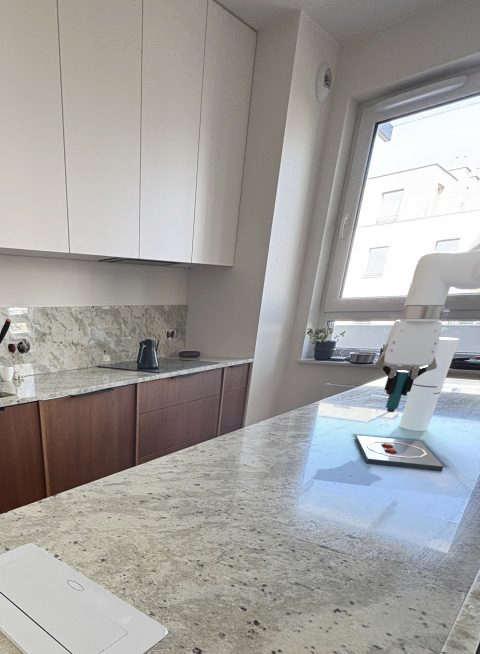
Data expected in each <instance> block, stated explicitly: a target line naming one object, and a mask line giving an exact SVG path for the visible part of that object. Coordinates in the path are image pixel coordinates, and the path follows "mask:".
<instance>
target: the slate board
mask: <svg viewBox="0 0 480 654" xmlns="http://www.w3.org/2000/svg"><path fill="white" fill-rule="evenodd" d="M355 442H356V444H357V446H358V448H359V451H360V453H361V455H362V457H363V459H364V462H365V464H370V465H379V466H389V467H397V468H407V469H415V470H416V469H417V470H425V469H426V470H425V471H435V472H443V468H444V465H443V464H442V463H441V462H440V461H439V459H437V458H436V456H435V455H434V454H433V453H432V452H431V451H430V450H429V448H428V447H426V445H425V444H424V443H423V442H422V441H421V440H414V439H413V440H412V439H402V438H401V439H400V438H391V437H377V436H365V435H356V437H355ZM384 443H388V444H391V445H392V446H391V448H390V449H395V453H386V450H387V449H388V448H387V447H383V444H384Z"/></svg>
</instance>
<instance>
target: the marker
mask: <svg viewBox="0 0 480 654" xmlns="http://www.w3.org/2000/svg"><path fill="white" fill-rule="evenodd" d="M409 372H410V370H397V371H396V374H395V379H396V381H395V384H394V388H393V391H392V394H390V395H388V398H387V401H386V405H385V408H386V412H387V413H394V412H395V410H397V409H398V408H399V405H400V402H401V399H402V397H403V395H402V393H403V390H404V387H405V384H406V381H407V378H408V375H409Z"/></svg>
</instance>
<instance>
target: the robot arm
mask: <svg viewBox="0 0 480 654" xmlns="http://www.w3.org/2000/svg"><path fill="white" fill-rule="evenodd" d="M450 288H455V289H458V290H476V289H477V290H478V289H480V243H478V244H476V245H475V246H473V247H472V248H470V249H469V250H467V251H460V252H456V251H433V252H432V251H431V252H426V253H424V254H422V255H421V256H419V258H418V259H417V262H416V264H415V268H414V271H413V274H412V278H411V282H410V285H409V288H408V292H407V294H406V299H405V301H404V304H403V305H404V306H403V309H402V312H401V315H400V319H396V320H395V321H394V323H393V325H392V327H391V330H390V332H389V334H388V337H387V339H386V342H385V345H384V349H383V350H382V354H381V355H380V357H378V359H377V360H376V361H375V362H374V366H375V367H376V368H378V369H380V370H382V371H383V372H384V373H385V375H386V376H387V379H386V383H385V385H384V391H385V393H386V394H387V395H388V396H389V395H390V394H392V391H393V388H394V384H395V381H396V379H395V375H396V372H397V371H398V368H399V366H409V367H410V369H409V374H408V378H407V381H406V384H405V387H404V390H403V393H402V397H403V396H404V397H406V396H407V395H408V393H410V390H411V387H412V384H413V381H414V379H416V378H417V377H418V376H420V375H421V374H423V373H424V372H427V371H430V370H433V369H436V368H437V365H436V360H435V354H436V350H437V346H438V342H439V338H440V337H441V331H442V326H443V321H442V320H440V319H441V318H442V317H443V316H449V314H450V313H451V308H447V307H446V306H445V303H446V300H447V299H448V298H447V297H448V295H449V292H450ZM420 366H424V367H420Z"/></svg>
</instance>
